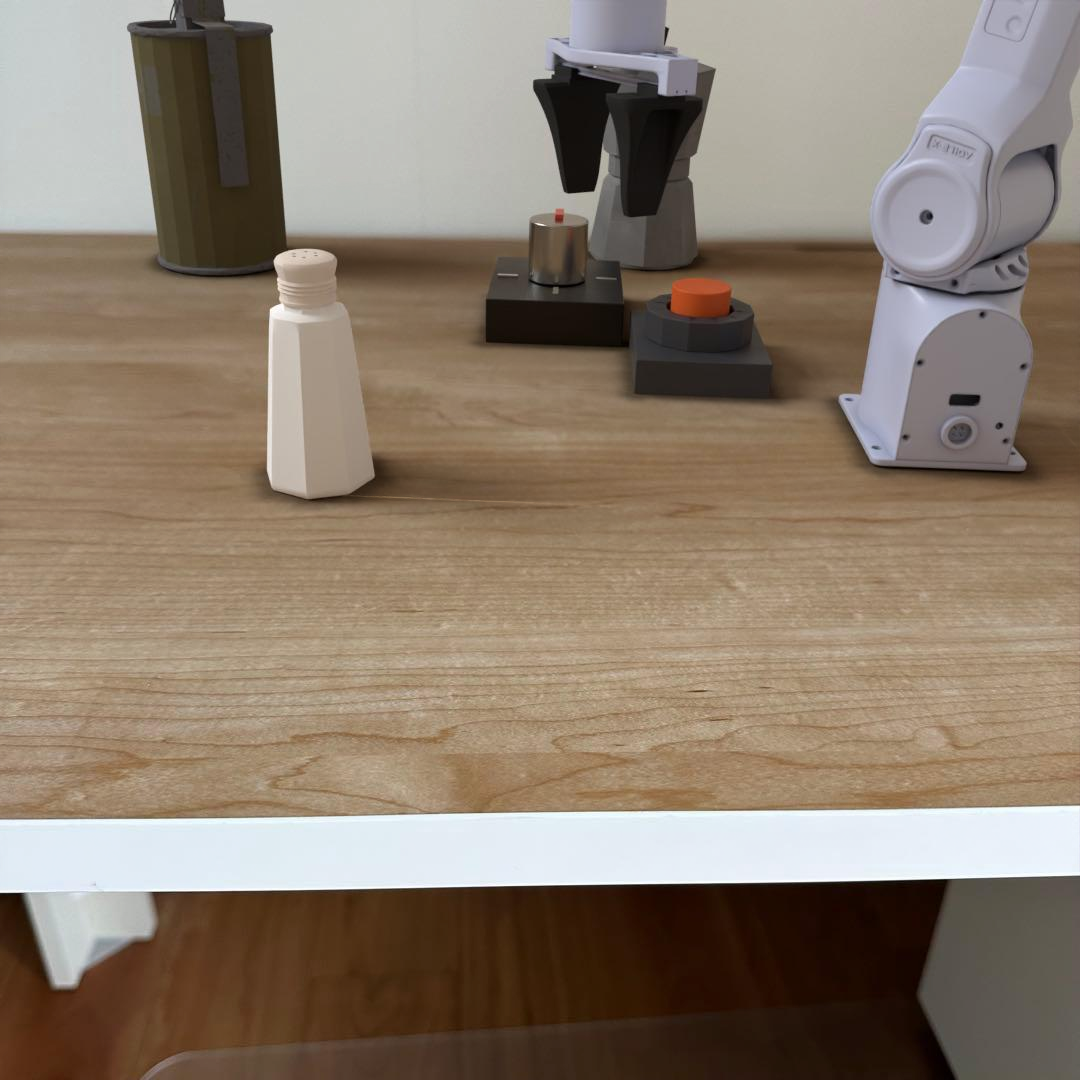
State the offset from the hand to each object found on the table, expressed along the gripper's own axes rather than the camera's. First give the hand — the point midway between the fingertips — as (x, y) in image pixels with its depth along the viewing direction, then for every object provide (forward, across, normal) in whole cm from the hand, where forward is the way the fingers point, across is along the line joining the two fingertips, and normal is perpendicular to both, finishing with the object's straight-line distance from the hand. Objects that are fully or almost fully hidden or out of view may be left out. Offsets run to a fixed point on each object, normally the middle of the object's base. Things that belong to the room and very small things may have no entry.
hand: (608, 203), depth 73 cm
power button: (+5, -8, -2) cm, 10 cm away
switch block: (+9, -8, -2) cm, 12 cm away
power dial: (+6, +4, +1) cm, 7 cm away
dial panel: (+9, +4, +1) cm, 10 cm away
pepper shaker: (+9, -14, +24) cm, 29 cm away
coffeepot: (+9, +18, -15) cm, 25 cm away
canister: (+9, +29, +18) cm, 35 cm away
